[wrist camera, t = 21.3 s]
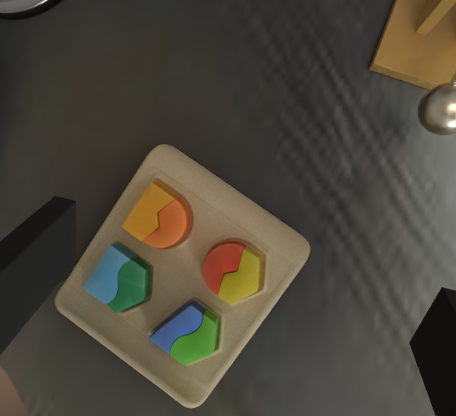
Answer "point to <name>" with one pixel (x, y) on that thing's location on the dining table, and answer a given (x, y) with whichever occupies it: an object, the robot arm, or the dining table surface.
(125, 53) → the dining table surface
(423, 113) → the tap lever
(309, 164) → the dining table surface
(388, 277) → the dining table surface
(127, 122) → the dining table surface
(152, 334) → the puzzle board
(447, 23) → the wooden lever stand
